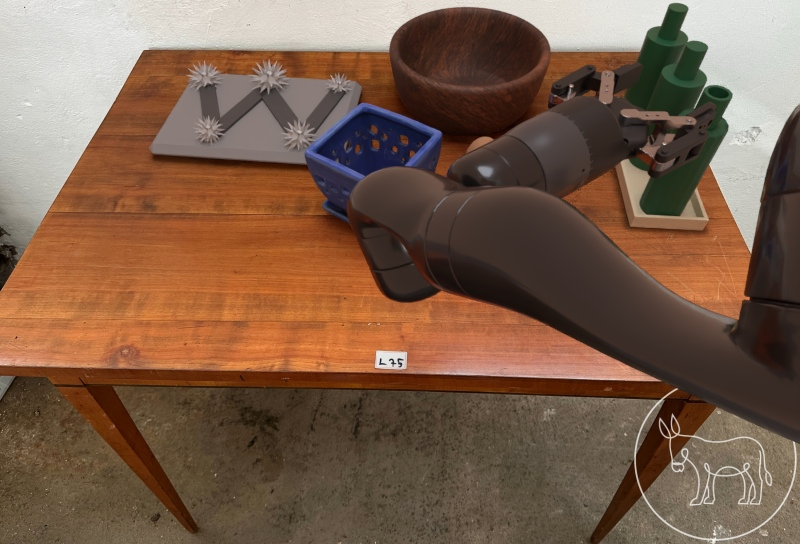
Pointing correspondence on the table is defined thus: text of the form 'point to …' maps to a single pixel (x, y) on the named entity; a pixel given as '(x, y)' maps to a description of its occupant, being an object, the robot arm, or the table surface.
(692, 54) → the row bottle
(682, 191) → the bottle
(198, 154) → the cassiopeia constellation model
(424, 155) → the flower pot
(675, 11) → the row bottle
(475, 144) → the egg
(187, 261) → the table surface
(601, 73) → the robot arm
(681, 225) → the tray
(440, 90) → the wooden bowl
